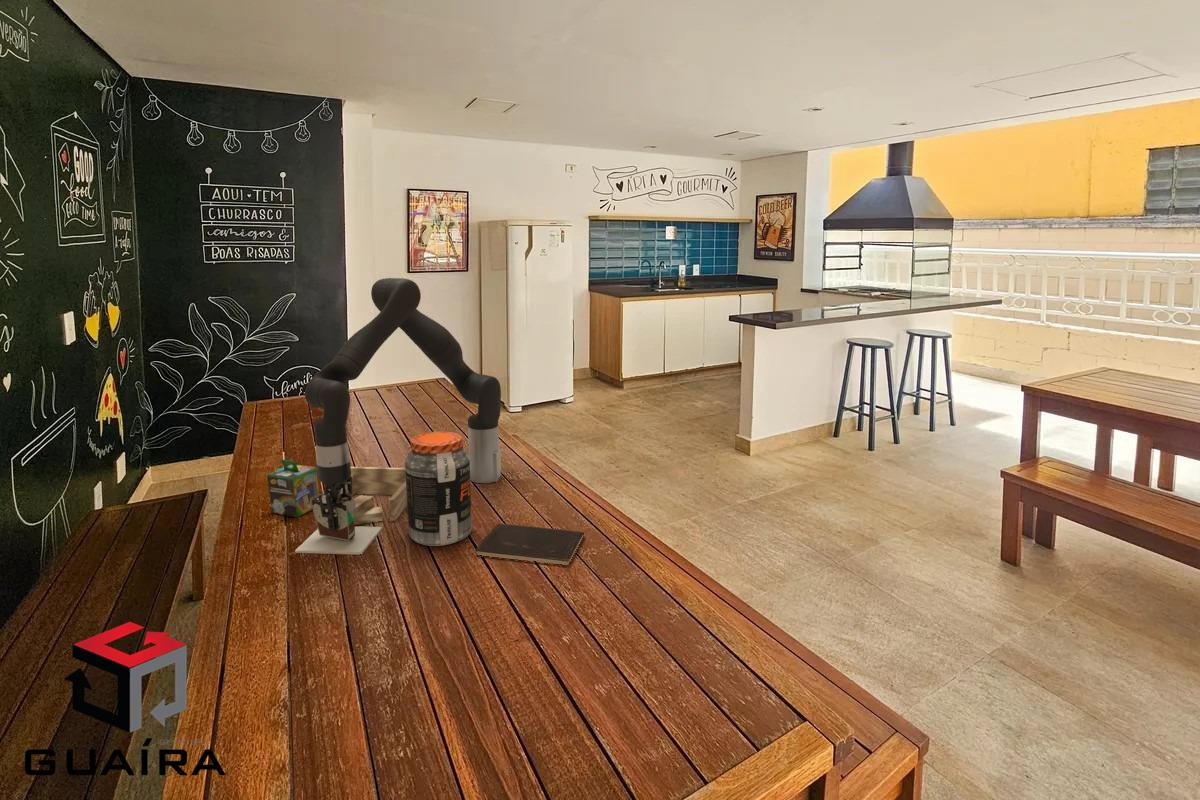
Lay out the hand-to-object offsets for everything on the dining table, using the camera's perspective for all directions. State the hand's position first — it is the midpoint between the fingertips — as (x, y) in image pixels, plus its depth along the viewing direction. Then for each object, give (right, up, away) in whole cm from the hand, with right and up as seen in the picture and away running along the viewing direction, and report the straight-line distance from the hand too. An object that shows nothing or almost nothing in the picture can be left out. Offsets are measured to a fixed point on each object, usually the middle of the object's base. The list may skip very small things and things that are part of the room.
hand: (339, 524), depth 163 cm
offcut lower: (0, -2, +12) cm, 12 cm away
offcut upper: (0, +1, +12) cm, 12 cm away
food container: (0, -3, +2) cm, 3 cm away
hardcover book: (+48, -6, -1) cm, 48 cm away
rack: (+1, +1, +22) cm, 22 cm away
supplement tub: (+24, -4, +5) cm, 25 cm away
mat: (0, -4, +1) cm, 4 cm away
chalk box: (-19, 0, +19) cm, 27 cm away
